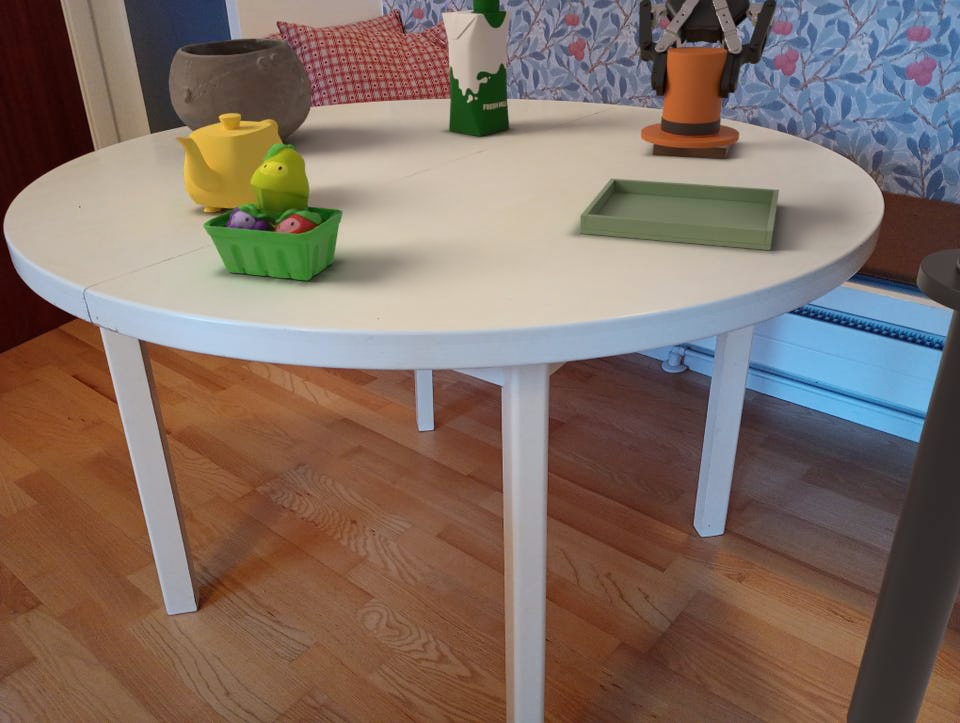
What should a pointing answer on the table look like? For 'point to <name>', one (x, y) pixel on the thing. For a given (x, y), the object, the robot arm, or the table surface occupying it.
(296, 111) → the clay pot
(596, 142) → the table surface
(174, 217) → the table surface
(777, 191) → the tray
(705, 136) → the hat
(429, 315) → the table surface
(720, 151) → the stand
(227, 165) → the teapot
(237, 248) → the fruit basket
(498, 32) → the milk carton
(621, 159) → the table surface
